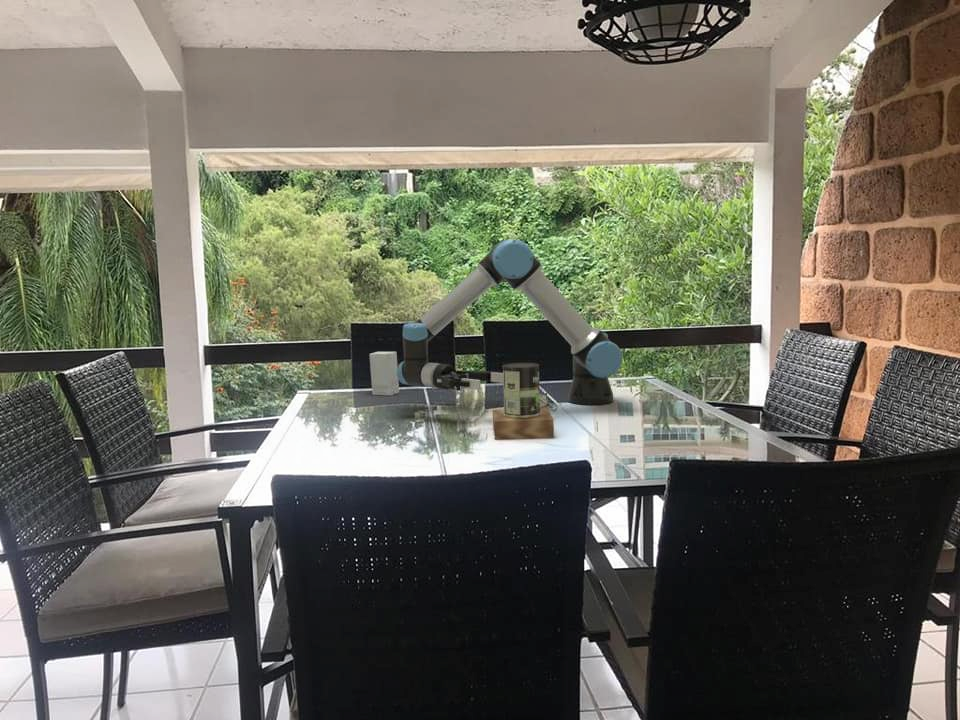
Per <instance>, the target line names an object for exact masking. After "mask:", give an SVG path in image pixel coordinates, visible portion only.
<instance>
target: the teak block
mask: <svg viewBox="0 0 960 720" xmlns="http://www.w3.org/2000/svg"><path fill="white" fill-rule="evenodd" d="M554 422H555V421H554V418H553V416H552V414H551V412H550V410H548V408H545V409H540V415H539V416H536V417H530V418H511V417H506V416H504V409H493V410H492V427H493V435H494V436H495V437H494V436H493V437H494V440H520V439H521V440H522V439H524V440H527V439H554V436H555V431H554V430H555V429H554V428H555V426H554V425H555V424H554Z"/></svg>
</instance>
